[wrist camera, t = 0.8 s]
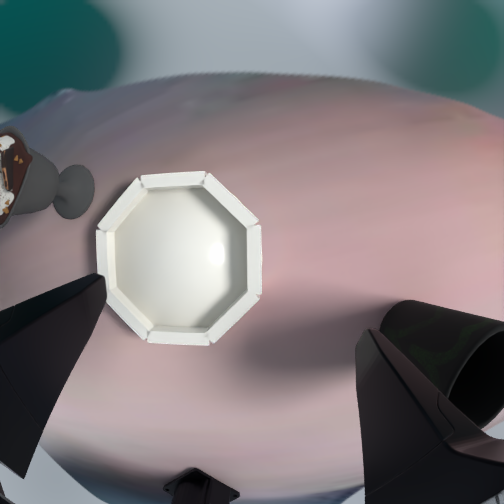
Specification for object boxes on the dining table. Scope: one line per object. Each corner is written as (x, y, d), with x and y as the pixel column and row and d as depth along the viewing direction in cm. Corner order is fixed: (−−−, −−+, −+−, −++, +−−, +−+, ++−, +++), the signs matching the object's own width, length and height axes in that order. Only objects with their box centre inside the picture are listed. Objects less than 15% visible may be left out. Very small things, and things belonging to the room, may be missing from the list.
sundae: (37, 205, 23) (-86, 195, 8) (70, 144, 22) (-48, 92, 7) (78, 243, 23) (-59, 257, 8) (115, 177, 22) (-17, 129, 8)
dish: (186, 365, 24) (180, 376, 22) (82, 259, 23) (70, 261, 21) (296, 257, 23) (300, 259, 21) (179, 144, 22) (173, 137, 20)
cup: (383, 382, 24) (446, 458, 12) (355, 317, 23) (430, 381, 11) (445, 338, 23) (526, 386, 11) (425, 272, 23) (522, 297, 11)
